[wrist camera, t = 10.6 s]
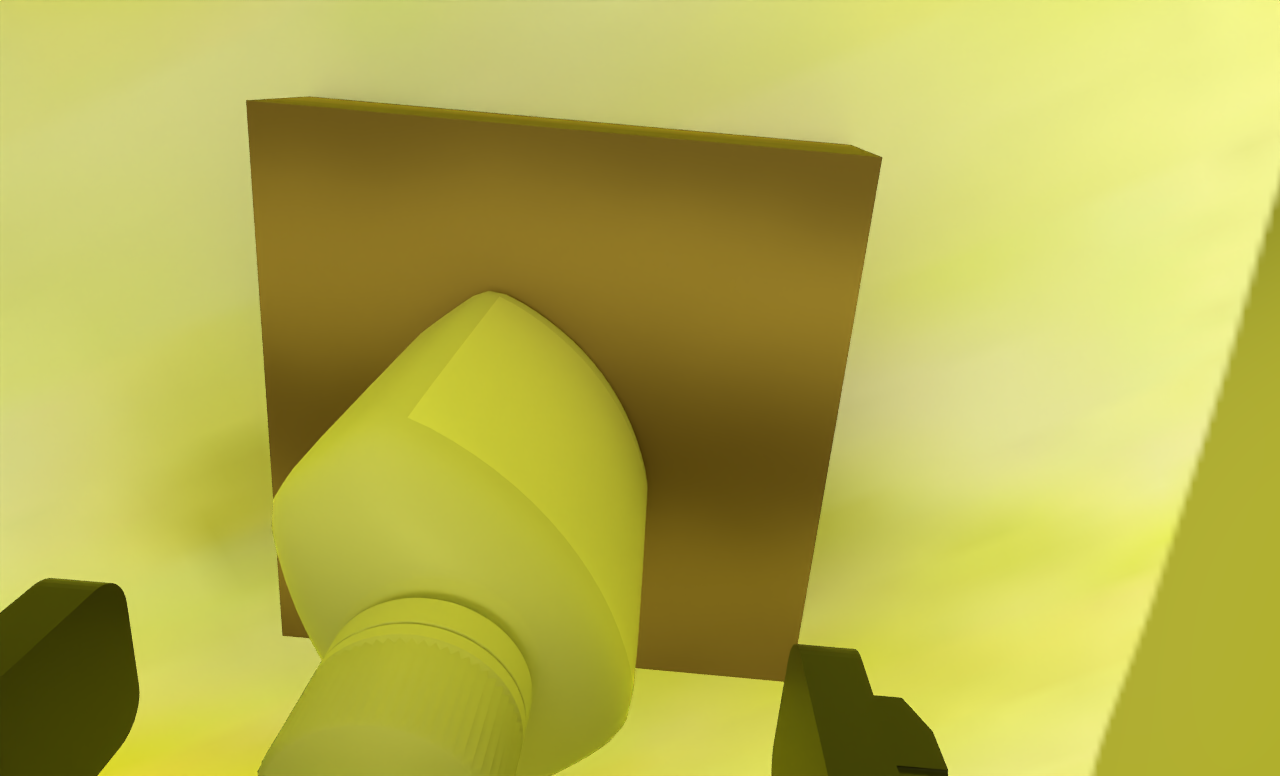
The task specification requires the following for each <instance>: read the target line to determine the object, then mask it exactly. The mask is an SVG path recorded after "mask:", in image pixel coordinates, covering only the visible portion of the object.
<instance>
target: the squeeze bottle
mask: <svg viewBox="0 0 1280 776" xmlns="http://www.w3.org/2000/svg"><path fill="white" fill-rule="evenodd" d="M646 505H647V479H646V472H645V467H644V463H643V459H642V455H641V452H640V448H639V445H638V442H637V439H636V436H635V434H634V431H633V429H632V426H631V424H630V421H629V419H628V417H627V415H626V413H625V411H624V409H623V407H622V405H621V403H620V401H619V399H618V397H617V396H616V394H615V392H614V391H613V389H612V388H611V386H610V384H609V383H608V381H607V380H606V379H605V377H604V376H603V374H602V373H601V372H600V370H599V369H598V368H597V367H596V365H595V364H594V363H593V362H592V361H591V359H590V358H589V357H588V356H587V355H586V354H585V353H584V352H583V350H582V349H581V348H580V347H579V346H578V345H577V344H576V343H575V342H574V341H573V340H571V339H570V338H569V337H568V336H567V335H566V334H565V333H564V332H562V331H561V330H560V329H559V328H558V327H556V326H555V325H554V324H553V323H551V322H550V321H549V320H547V319H546V318H545V317H543V316H542V315H540V314H539V313H538V312H536V311H535V310H533V309H531V308H530V307H528V306H527V305H525V304H523V303H522V302H520V301H518V300H516V299H514V298H512V297H510V296H508V295H507V294H502V293H497V292H492V291H486V292H483V293H480V294H477V295H474V296H472V297H471V298H469V299H468V300H466V301H465V302H463V303H462V304H460V305H459V306H457V307H456V308H455V309H453V310H452V311H450V312H449V313H448V314H446V315H445V316H443V317H442V318H440V319H439V320H438V321H436V322H435V323H434V324H432V325H431V326H430V327H428V328H427V329H426V330H425V331H423V332H422V333H421V334H420V335H419V336H418V337H417V338H416V339H415V340H414V341H413V342H412V343H411V344H410V345H409V346H408V347H407V348H406V349H405V350H404V351H403V352H402V353H401V354H400V355H399V356H398V357H397V358H396V359H395V360H394V361H393V362H392V363H391V365H390V366H389V367H388V368H387V369H386V370H385V371H384V372H383V373H382V374H381V375H380V376H379V377H378V378H377V379H376V380H375V381H374V382H373V383H372V384H371V385H370V386H369V387H368V388H367V389H366V390H365V392H364V393H363V394H362V395H361V396H360V397H359V398H358V399H357V400H356V401H355V402H354V403H353V404H352V405H351V406H350V407H349V408H348V409H347V410H346V412H345V413H344V414H343V415H342V416H341V417H340V418H339V419H338V420H337V421H336V422H335V423H334V424H333V425H332V426H331V427H330V428H329V429H328V430H327V432H326V433H325V434H324V435H323V436H322V437H321V438H320V439H319V440H318V441H317V442H316V444H315V445H314V446H313V447H312V448H311V449H310V450H309V451H308V452H307V454H306V455H305V456H304V457H303V458H302V459H301V460H300V461H299V463H298V464H297V465H296V466H295V467H294V468H293V469H292V471H291V472H290V474H289V475H288V477H287V478H286V480H285V481H284V482H283V484H282V485H281V487H280V489H279V490H278V492H277V494H276V495H275V497H274V500H273V506H272V532H273V537H274V542H275V546H276V551H277V555H278V558H279V562H280V565H281V568H282V572H283V575H284V578H285V582H286V584H287V587H288V589H289V592H290V595H291V597H292V600H293V602H294V605H295V608H296V610H297V612H298V615H299V617H300V619H301V621H302V623H303V626H304V628H305V630H306V632H307V634H308V636H309V638H310V640H311V641H312V643H313V645H314V647H315V649H316V651H317V653H318V655H319V656H320V658H321V659H322V661H321V663H320V665H319V666H318V668H317V670H316V671H315V673H314V675H313V676H312V678H311V680H310V682H309V683H308V685H307V687H306V688H305V690H304V692H303V693H302V695H301V697H300V698H299V700H298V702H297V703H296V705H295V707H294V708H293V710H292V712H291V713H290V715H289V717H288V719H287V720H286V722H285V724H284V725H283V727H282V729H281V730H280V732H279V734H278V735H277V737H276V739H275V740H274V742H273V744H272V745H271V747H270V749H269V750H268V752H267V754H266V755H265V757H264V759H263V760H262V765H261V766H260V768H259V770H258V776H551V775H553V774H556V773H558V772H560V771H562V770H564V769H566V768H567V767H569V766H571V765H573V764H575V763H577V762H579V761H580V760H582V759H584V758H586V757H587V756H589V755H591V754H592V753H594V752H595V751H597V750H598V749H600V748H601V747H603V746H604V745H605V744H607V743H608V742H609V741H610V740H611V739H612V738H613V737H614V735H615V734H616V733H617V732H618V731H619V730H620V729H621V728H622V726H623V724H624V723H625V721H626V719H627V715H628V711H629V707H630V703H631V698H632V693H633V688H634V678H635V667H636V657H637V647H638V634H639V619H640V604H641V589H642V573H643V557H644V540H645V523H646Z"/></svg>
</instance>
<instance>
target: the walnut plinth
mask: <svg viewBox="0 0 1280 776" xmlns="http://www.w3.org/2000/svg"><path fill="white" fill-rule="evenodd" d="M246 105H247V120H248V134H249V149H250V164H251V178H252V193H253V208H254V223H255V237H256V252H257V267H258V281H259V296H260V311H261V325H262V340H263V355H264V370H265V384H266V399H267V414H268V428H269V443H270V458H271V472H272V487H273V500H274V497H275V495H276V494H277V492H278V490H279V489H280V487H281V485H282V484H283V482H284V481H285V480H286V478H287V477H288V475H289V474H290V472H291V471H292V469H293V468H294V467H295V466H296V465H297V464H298V463H299V461H300V460H301V459H302V458H303V457H304V456H305V455H306V454H307V452H308V451H309V450H310V449H311V448H312V447H313V446H314V445H315V444H316V442H317V441H318V440H319V439H320V438H321V437H322V436H323V435H324V434H325V433H326V432H327V430H328V429H329V428H330V427H331V426H332V425H333V424H334V423H335V422H336V421H337V420H338V419H339V418H340V417H341V416H342V415H343V414H344V413H345V412H346V410H347V409H348V408H349V407H350V406H351V405H352V404H353V403H354V402H355V401H356V400H357V399H358V398H359V397H360V396H361V395H362V394H363V393H364V392H365V390H366V389H367V388H368V387H369V386H370V385H371V384H372V383H373V382H374V381H375V380H376V379H377V378H378V377H379V376H380V375H381V374H382V373H383V372H384V371H385V370H386V369H387V368H388V367H389V366H390V365H391V363H392V362H393V361H394V360H395V359H396V358H397V357H398V356H399V355H400V354H401V353H402V352H403V351H404V350H405V349H406V348H407V347H408V346H409V345H410V344H411V343H412V342H413V341H414V340H415V339H416V338H417V337H418V336H419V335H420V334H421V333H422V332H423V331H425V330H426V329H427V328H428V327H430V326H431V325H432V324H434V323H435V322H436V321H438V320H439V319H440V318H442V317H443V316H445V315H446V314H448V313H449V312H450V311H452V310H453V309H455V308H456V307H457V306H459V305H460V304H462V303H463V302H465V301H466V300H468V299H469V298H471V297H472V296H474V295H477V294H480V293H483V292H486V291H492V292H497V293H502V294H507V295H508V296H510V297H512V298H514V299H516V300H518V301H520V302H522V303H523V304H525V305H527V306H528V307H530V308H531V309H533V310H535V311H536V312H538V313H539V314H540V315H542V316H543V317H545V318H546V319H547V320H549V321H550V322H551V323H553V324H554V325H555V326H556V327H558V328H559V329H560V330H561V331H562V332H564V333H565V334H566V335H567V336H568V337H569V338H570V339H571V340H573V341H574V342H575V343H576V344H577V345H578V346H579V347H580V348H581V349H582V350H583V352H584V353H585V354H586V355H587V356H588V357H589V358H590V359H591V361H592V362H593V363H594V364H595V365H596V367H597V368H598V369H599V370H600V372H601V373H602V374H603V376H604V377H605V379H606V380H607V381H608V383H609V384H610V386H611V388H612V389H613V391H614V392H615V394H616V396H617V397H618V399H619V401H620V403H621V405H622V407H623V409H624V411H625V413H626V415H627V417H628V419H629V421H630V424H631V426H632V429H633V431H634V434H635V436H636V439H637V442H638V445H639V448H640V452H641V455H642V459H643V463H644V467H645V472H646V479H647V505H646V523H645V540H644V557H643V573H642V589H641V604H640V619H639V634H638V647H637V657H636V667H635V668H642V669H653V670H663V671H674V672H685V673H696V674H707V675H718V676H729V677H740V678H751V679H762V680H773V681H783V682H784V681H785V675H786V669H787V663H788V658H789V654H790V650H791V648H792V646H793V645H794V644H798V638H799V632H800V627H801V621H802V615H803V609H804V604H805V598H806V592H807V586H808V581H809V575H810V569H811V563H812V558H813V552H814V546H815V540H816V535H817V529H818V523H819V518H820V512H821V506H822V500H823V495H824V489H825V483H826V477H827V472H828V466H829V460H830V454H831V449H832V443H833V437H834V431H835V426H836V420H837V414H838V408H839V403H840V397H841V391H842V385H843V380H844V374H845V368H846V362H847V357H848V351H849V345H850V339H851V334H852V328H853V322H854V316H855V311H856V305H857V299H858V293H859V288H860V282H861V276H862V270H863V265H864V259H865V253H866V247H867V242H868V236H869V230H870V225H871V219H872V213H873V207H874V202H875V196H876V190H877V184H878V179H879V173H880V167H881V161H882V157H880V156H878V155H875V154H872V153H870V152H867V151H865V150H862V149H860V148H857V147H855V146H852V145H845V144H833V143H822V142H811V141H800V140H789V139H778V138H766V137H755V136H744V135H733V134H722V133H710V132H699V131H688V130H677V129H666V128H654V127H643V126H632V125H621V124H610V123H599V122H587V121H576V120H565V119H554V118H543V117H531V116H520V115H509V114H498V113H487V112H476V111H464V110H453V109H442V108H431V107H420V106H408V105H397V104H386V103H375V102H364V101H353V100H341V99H330V98H319V97H294V98H278V99H261V100H246ZM277 561H278V575H279V590H280V605H281V619H282V634H283V636H293V637H303V638H309V636H308V634H307V632H306V630H305V628H304V626H303V623H302V621H301V619H300V617H299V615H298V612H297V610H296V608H295V605H294V602H293V600H292V597H291V595H290V592H289V589H288V587H287V584H286V582H285V578H284V575H283V572H282V568H281V565H280V562H279V558H278V555H277Z"/></svg>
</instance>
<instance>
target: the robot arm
mask: <svg viewBox="0 0 1280 776" xmlns="http://www.w3.org/2000/svg"><path fill="white" fill-rule="evenodd" d="M138 703H139V683H138V676H137V669H136V662H135V656H134V649H133V642H132V635H131V628H130V622H129V615H128V608H127V602H126V597H125V595H124V592H123V591H122V589H121V588H120V587H119V586H118V585H116V584H113V583H102V582H90V581H79V580H67V579H55V578H48V579H44V580H42V581H39V582H38V583H36V584H35V585H34V586H32V587H31V588H30V589H29V590H27V591H26V592H25V593H24V594H23V595H21V596H20V597H19V598H18V599H16V600H15V601H14V602H13V603H12V604H10V605H9V606H8V607H7V608H6V609H4V610H3V611H2V612H1V613H0V776H97V775H98V774H99V773H100V772H101V770H102V769H103V768H104V767H105V765H106V764H107V763H108V762H109V760H110V759H111V758H112V757H113V755H114V754H115V753H116V752H117V750H118V749H119V748H120V747H121V745H122V744H123V743H124V741H125V739H126V738H127V736H128V734H129V732H130V730H131V728H132V725H133V723H134V720H135V717H136V713H137V709H138ZM772 776H948V769H947V766H946V764H945V761H944V759H943V756H942V754H941V751H940V749H939V746H938V744H937V741H936V739H935V736H934V734H933V732H932V730H931V729H930V728H929V727H928V726H927V725H926V724H925V723H924V722H923V721H922V719H921V718H920V717H919V716H918V715H917V714H916V713H915V712H914V711H913V710H912V708H911V707H910V706H909V705H908V704H907V703H906V702H905V701H904V700H903V699H902V698H898V697H886V696H874V695H873V693H872V690H871V687H870V683H869V680H868V677H867V674H866V671H865V668H864V665H863V662H862V659H861V657H860V654H859V652H858V651H857V650H856V649H847V648H835V647H824V646H812V645H800V644H794V645H793V646H792V648H791V650H790V654H789V658H788V663H787V669H786V675H785V681H784V687H783V693H782V699H781V704H780V710H779V716H778V722H777V728H776V734H775V739H774V746H773V754H772Z"/></svg>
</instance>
